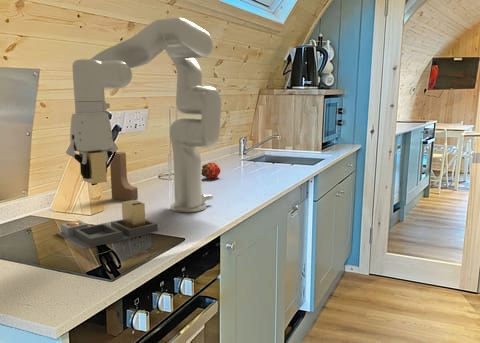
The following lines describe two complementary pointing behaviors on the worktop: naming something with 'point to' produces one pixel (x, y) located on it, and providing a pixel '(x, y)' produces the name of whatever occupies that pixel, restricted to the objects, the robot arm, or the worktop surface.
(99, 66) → the robot arm
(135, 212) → the block
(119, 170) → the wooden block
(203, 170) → the red bumpy rounded lump
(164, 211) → the worktop surface
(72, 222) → the button
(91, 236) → the grey compartment tray
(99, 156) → the block
